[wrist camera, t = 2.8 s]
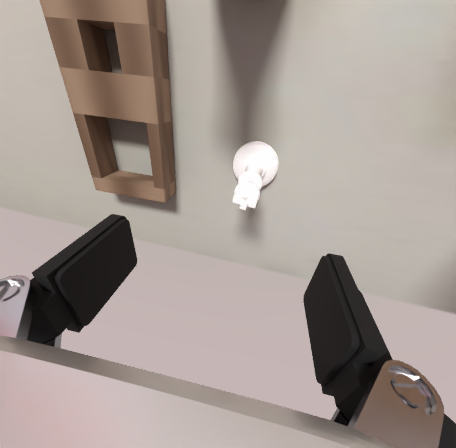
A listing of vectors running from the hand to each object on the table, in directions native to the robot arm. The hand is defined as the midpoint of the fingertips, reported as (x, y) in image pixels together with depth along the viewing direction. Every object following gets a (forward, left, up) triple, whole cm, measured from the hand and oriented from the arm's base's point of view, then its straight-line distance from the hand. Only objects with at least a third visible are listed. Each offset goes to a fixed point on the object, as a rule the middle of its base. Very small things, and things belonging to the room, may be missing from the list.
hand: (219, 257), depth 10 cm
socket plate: (+14, -4, -15) cm, 21 cm away
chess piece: (0, 0, -15) cm, 15 cm away
